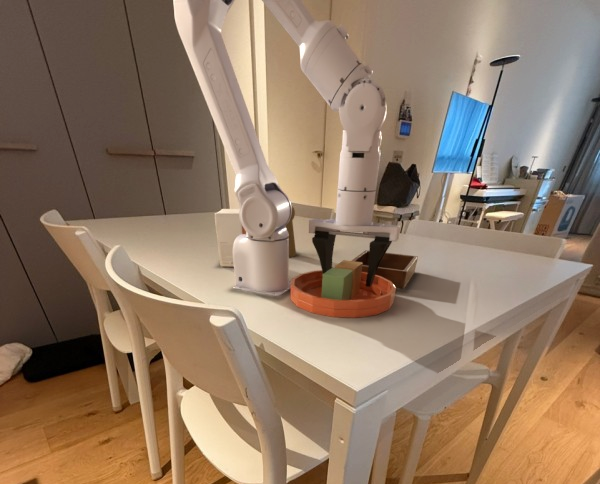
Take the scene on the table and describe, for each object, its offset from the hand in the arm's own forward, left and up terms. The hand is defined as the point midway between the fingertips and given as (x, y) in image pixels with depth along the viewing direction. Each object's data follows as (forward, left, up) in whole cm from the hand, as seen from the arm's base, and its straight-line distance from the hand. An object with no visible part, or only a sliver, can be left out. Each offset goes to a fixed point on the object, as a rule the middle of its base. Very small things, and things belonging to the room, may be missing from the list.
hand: (347, 282), depth 58 cm
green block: (0, -6, -2) cm, 6 cm away
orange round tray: (0, -3, -3) cm, 4 cm away
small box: (-30, +10, -3) cm, 32 cm away
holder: (+3, +14, -3) cm, 15 cm away
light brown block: (0, 0, -2) cm, 2 cm away
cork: (-24, +23, -3) cm, 34 cm away
